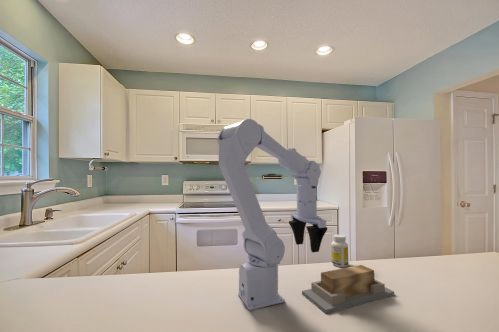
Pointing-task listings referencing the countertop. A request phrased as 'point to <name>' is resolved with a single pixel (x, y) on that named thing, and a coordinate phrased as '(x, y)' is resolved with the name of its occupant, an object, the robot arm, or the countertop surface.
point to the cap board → (339, 300)
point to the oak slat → (348, 280)
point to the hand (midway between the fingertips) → (306, 247)
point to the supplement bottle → (339, 251)
